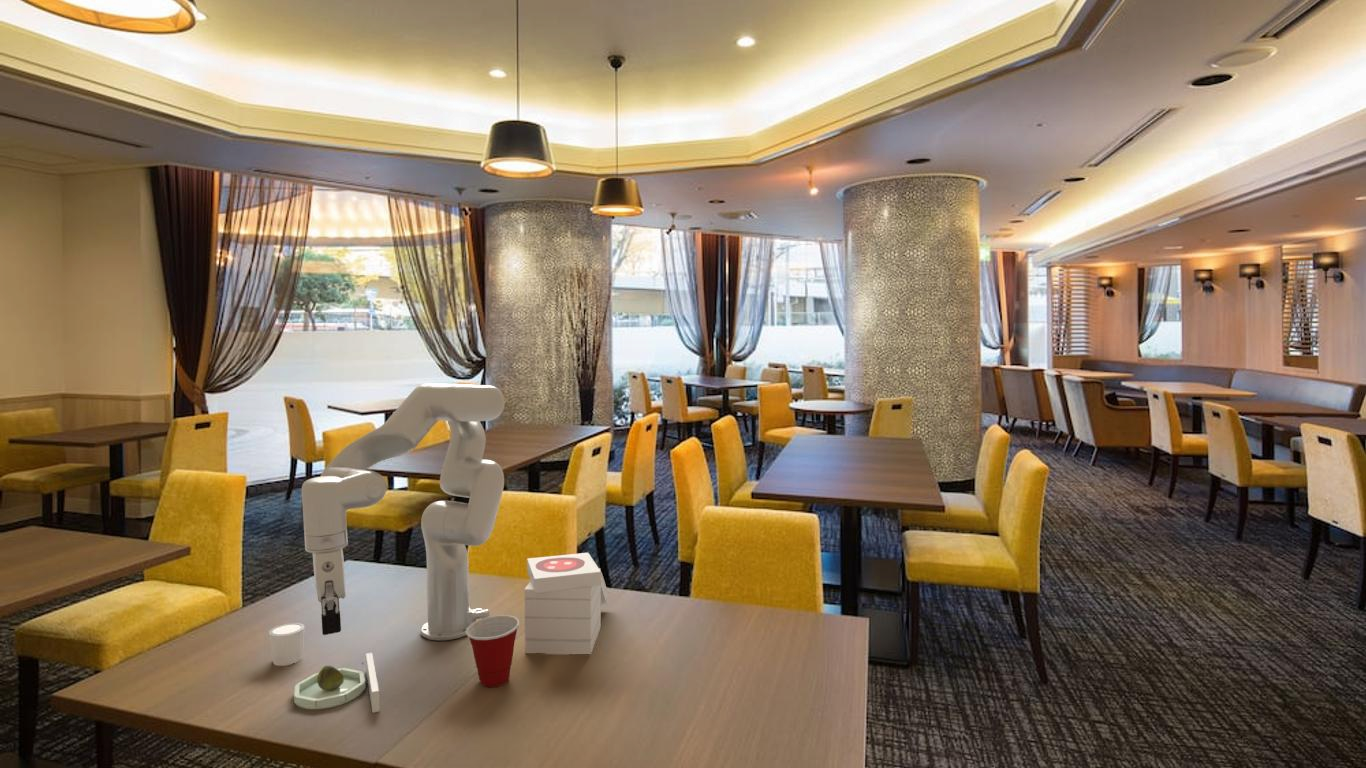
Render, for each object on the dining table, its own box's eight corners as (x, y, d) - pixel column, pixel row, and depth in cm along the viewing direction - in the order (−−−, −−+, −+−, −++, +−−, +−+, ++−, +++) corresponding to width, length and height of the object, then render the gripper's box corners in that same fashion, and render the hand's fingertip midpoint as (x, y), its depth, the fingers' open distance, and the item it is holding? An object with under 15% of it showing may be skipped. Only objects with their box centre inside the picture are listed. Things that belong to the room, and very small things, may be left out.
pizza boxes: (615, 607, 185) (615, 540, 183) (597, 659, 155) (597, 579, 153) (543, 605, 185) (542, 538, 184) (511, 657, 155) (511, 578, 154)
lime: (318, 686, 141) (317, 662, 140) (345, 682, 143) (344, 658, 142) (316, 697, 137) (315, 672, 136) (343, 692, 138) (342, 668, 138)
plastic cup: (464, 673, 148) (463, 618, 147) (516, 664, 152) (515, 610, 151) (468, 698, 138) (467, 639, 137) (524, 688, 142) (523, 630, 141)
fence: (372, 670, 149) (372, 652, 148) (379, 711, 133) (378, 690, 133) (366, 672, 148) (365, 653, 148) (372, 712, 132) (371, 692, 132)
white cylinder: (289, 668, 150) (288, 636, 149) (262, 665, 151) (261, 633, 150) (312, 654, 156) (311, 623, 156) (286, 651, 158) (285, 621, 157)
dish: (363, 671, 148) (363, 663, 148) (367, 699, 137) (367, 690, 137) (294, 685, 142) (294, 676, 142) (292, 715, 131) (292, 706, 131)
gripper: (349, 549, 132) (354, 636, 133) (345, 525, 147) (350, 604, 149) (304, 556, 128) (309, 645, 130) (305, 530, 144) (310, 611, 145)
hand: (331, 623), depth 139 cm, fingers open, 9 cm apart
